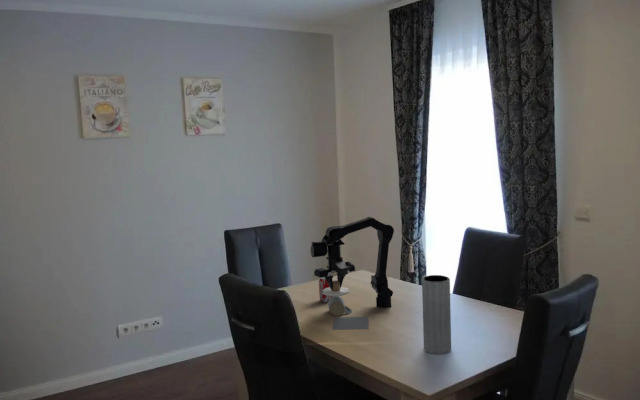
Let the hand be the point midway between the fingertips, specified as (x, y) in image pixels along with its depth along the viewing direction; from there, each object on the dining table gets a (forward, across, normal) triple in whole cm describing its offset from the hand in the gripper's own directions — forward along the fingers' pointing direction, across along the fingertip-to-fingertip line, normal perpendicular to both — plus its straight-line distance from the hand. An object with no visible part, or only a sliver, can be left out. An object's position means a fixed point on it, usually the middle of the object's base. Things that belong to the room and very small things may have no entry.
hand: (335, 288), depth 243 cm
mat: (+12, -3, -16) cm, 20 cm away
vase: (+12, +8, -57) cm, 59 cm away
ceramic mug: (+12, +1, 0) cm, 12 cm away
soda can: (+12, +7, +20) cm, 24 cm away
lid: (+2, 0, 0) cm, 2 cm away
